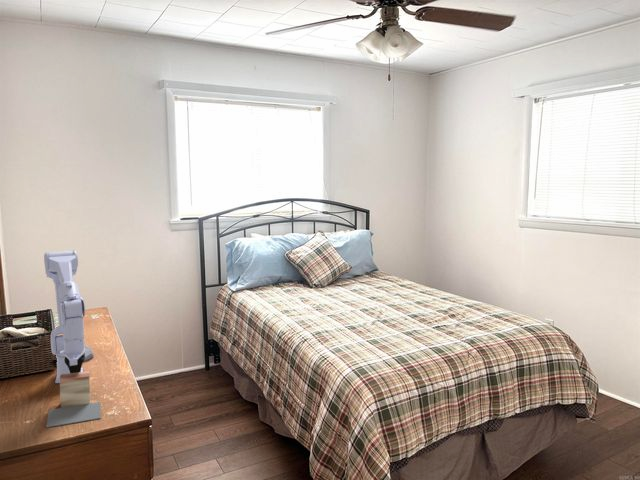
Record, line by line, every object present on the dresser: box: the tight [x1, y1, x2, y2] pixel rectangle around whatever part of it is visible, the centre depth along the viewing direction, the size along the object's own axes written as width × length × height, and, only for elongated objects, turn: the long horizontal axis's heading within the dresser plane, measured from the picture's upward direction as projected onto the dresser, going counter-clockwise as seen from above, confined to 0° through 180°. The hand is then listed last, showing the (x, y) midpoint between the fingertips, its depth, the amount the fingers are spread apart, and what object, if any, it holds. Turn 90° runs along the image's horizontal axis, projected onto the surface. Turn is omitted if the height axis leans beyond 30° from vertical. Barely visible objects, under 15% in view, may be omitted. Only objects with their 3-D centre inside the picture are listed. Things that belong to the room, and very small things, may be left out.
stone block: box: [84, 344, 95, 362], centre depth 179 cm, size 12×5×10 cm
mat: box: [45, 401, 102, 429], centre depth 141 cm, size 10×14×1 cm
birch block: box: [59, 370, 91, 408], centre depth 147 cm, size 4×8×9 cm, turn 114°
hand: (75, 378), depth 150 cm, fingers closed
